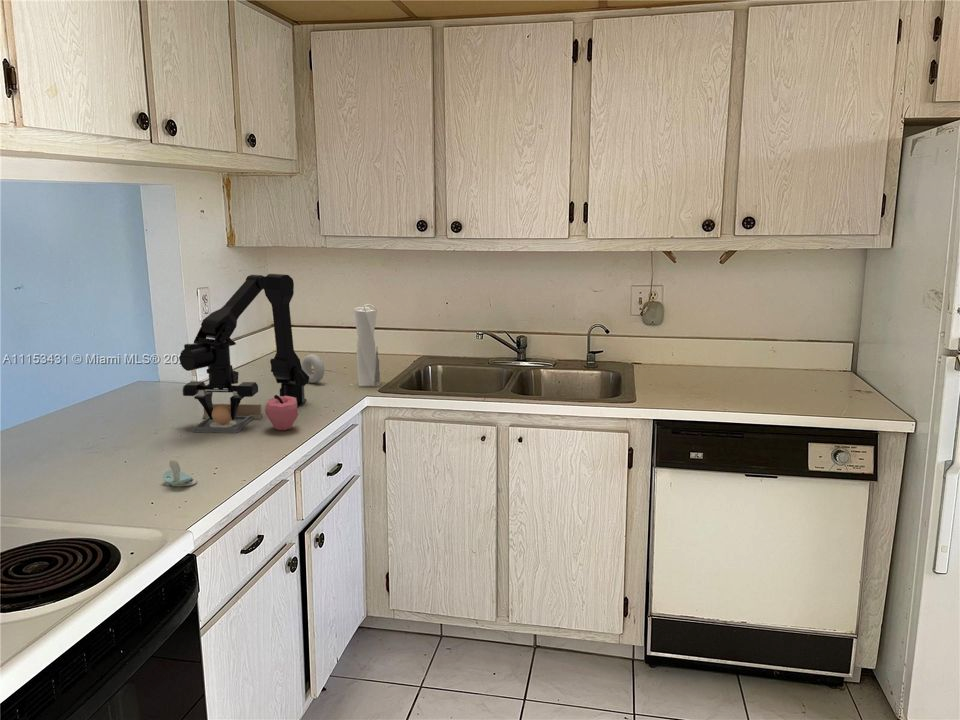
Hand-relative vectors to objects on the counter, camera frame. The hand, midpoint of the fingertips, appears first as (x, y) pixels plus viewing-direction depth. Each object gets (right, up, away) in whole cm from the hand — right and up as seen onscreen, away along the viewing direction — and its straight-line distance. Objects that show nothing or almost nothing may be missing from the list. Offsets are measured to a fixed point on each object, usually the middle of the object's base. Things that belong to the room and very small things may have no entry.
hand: (222, 419), depth 197 cm
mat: (0, -2, 0) cm, 2 cm away
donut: (+13, +8, +49) cm, 52 cm away
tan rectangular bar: (0, 0, +8) cm, 8 cm away
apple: (+17, -3, -2) cm, 17 cm away
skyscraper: (+32, +8, +47) cm, 58 cm away
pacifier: (+6, -11, -40) cm, 42 cm away
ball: (0, +2, 0) cm, 2 cm away
